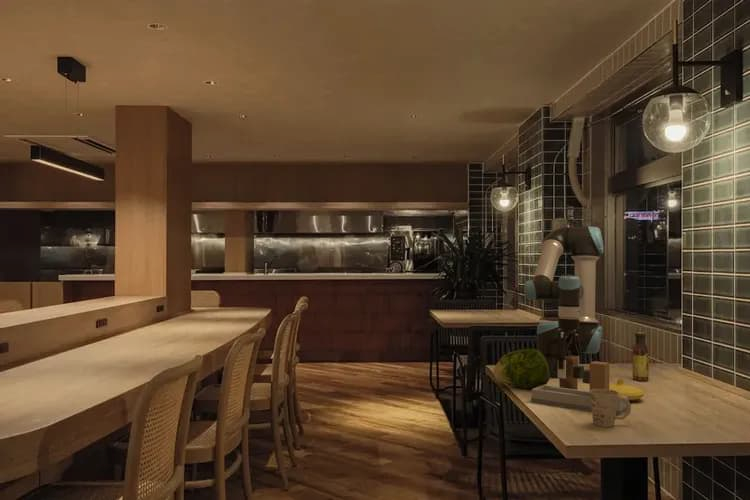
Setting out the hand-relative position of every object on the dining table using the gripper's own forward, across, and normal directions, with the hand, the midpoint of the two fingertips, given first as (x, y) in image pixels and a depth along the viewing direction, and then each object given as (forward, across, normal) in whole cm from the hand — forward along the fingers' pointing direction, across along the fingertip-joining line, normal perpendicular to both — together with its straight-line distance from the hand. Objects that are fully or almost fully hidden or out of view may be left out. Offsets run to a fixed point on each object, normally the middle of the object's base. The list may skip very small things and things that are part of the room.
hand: (568, 375), depth 236 cm
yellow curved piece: (+8, +6, -17) cm, 20 cm away
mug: (+8, -33, -25) cm, 42 cm away
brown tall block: (+7, 0, -1) cm, 7 cm away
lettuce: (+7, +3, +20) cm, 22 cm away
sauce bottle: (+7, +49, -13) cm, 52 cm away
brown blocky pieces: (+8, -15, -9) cm, 19 cm away
